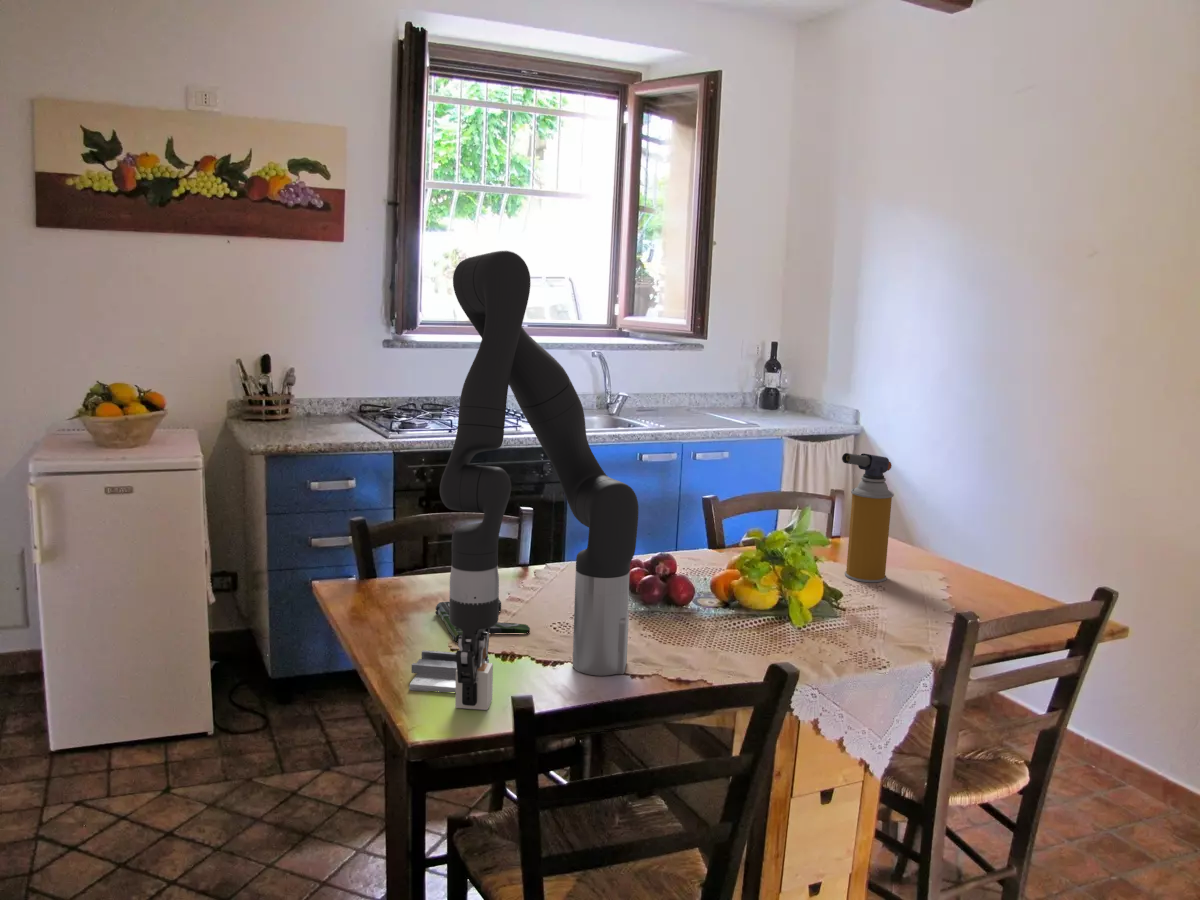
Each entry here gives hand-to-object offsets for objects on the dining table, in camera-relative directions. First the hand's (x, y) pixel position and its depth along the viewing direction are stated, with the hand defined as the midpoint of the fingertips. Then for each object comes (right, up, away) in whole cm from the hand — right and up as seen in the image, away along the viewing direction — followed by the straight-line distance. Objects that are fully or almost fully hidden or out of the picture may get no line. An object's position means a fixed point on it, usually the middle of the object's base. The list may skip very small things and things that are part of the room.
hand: (472, 697), depth 162 cm
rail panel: (-5, +1, +11) cm, 12 cm away
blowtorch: (+79, +9, +76) cm, 110 cm away
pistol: (-3, +5, +36) cm, 37 cm away
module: (0, -1, 0) cm, 1 cm away
